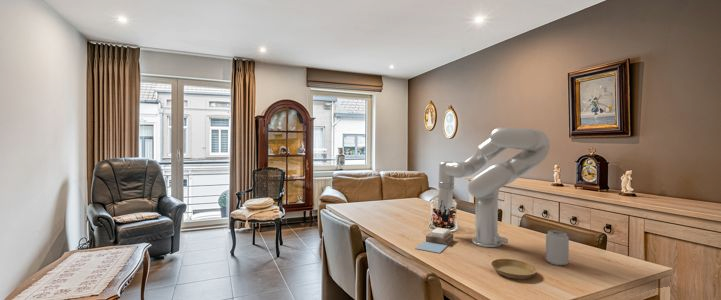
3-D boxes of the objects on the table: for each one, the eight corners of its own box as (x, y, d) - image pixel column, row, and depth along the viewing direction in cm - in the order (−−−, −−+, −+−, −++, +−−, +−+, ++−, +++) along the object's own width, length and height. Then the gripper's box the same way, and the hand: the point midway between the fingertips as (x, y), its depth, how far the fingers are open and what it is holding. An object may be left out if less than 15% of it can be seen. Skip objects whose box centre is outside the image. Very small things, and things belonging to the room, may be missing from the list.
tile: (449, 233, 153) (449, 229, 153) (443, 238, 145) (443, 233, 145) (437, 231, 156) (437, 227, 156) (430, 236, 148) (430, 231, 148)
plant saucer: (538, 270, 115) (538, 263, 115) (535, 286, 103) (535, 278, 103) (495, 262, 123) (495, 256, 123) (487, 276, 111) (487, 268, 111)
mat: (447, 246, 143) (447, 245, 143) (439, 253, 133) (439, 252, 133) (424, 242, 149) (424, 241, 149) (415, 249, 139) (415, 248, 139)
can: (565, 260, 124) (565, 230, 124) (571, 267, 117) (571, 235, 117) (543, 258, 127) (544, 228, 126) (548, 265, 120) (548, 233, 119)
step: (453, 240, 152) (453, 233, 152) (446, 245, 143) (446, 239, 143) (433, 236, 157) (433, 231, 157) (425, 242, 149) (425, 236, 149)
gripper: (443, 183, 168) (442, 217, 168) (433, 186, 155) (432, 223, 156) (457, 184, 163) (456, 219, 164) (449, 188, 151) (448, 226, 152)
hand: (445, 221), depth 160 cm, fingers closed
